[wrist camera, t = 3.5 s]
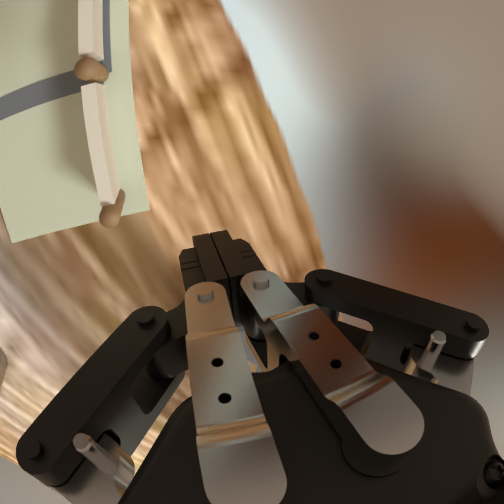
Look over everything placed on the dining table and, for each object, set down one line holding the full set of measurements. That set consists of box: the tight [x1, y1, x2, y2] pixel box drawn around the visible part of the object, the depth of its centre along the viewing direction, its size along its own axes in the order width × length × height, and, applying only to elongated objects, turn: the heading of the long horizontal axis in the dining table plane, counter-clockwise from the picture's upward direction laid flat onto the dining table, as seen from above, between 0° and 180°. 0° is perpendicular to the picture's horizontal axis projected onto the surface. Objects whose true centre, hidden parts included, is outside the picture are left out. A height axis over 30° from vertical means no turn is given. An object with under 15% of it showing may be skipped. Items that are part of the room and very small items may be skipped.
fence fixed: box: [74, 0, 109, 84], centre depth 16 cm, size 2×14×7 cm, turn 3°
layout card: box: [0, 0, 150, 243], centre depth 20 cm, size 17×28×1 cm, turn 3°
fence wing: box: [81, 82, 126, 228], centre depth 22 cm, size 12×2×6 cm, turn 3°
